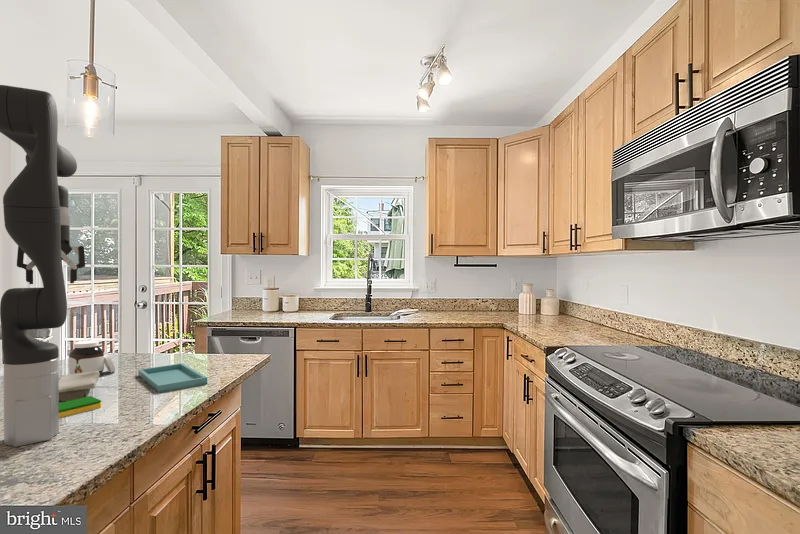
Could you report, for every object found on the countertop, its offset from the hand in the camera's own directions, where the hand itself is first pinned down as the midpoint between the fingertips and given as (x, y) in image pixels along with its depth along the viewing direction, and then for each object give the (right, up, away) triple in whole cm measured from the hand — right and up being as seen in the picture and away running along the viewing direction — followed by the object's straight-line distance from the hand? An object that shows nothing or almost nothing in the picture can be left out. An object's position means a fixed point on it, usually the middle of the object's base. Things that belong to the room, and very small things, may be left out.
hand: (52, 283), depth 115 cm
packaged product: (+4, -31, +12) cm, 33 cm away
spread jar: (-12, -33, +32) cm, 47 cm away
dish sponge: (+8, -34, -5) cm, 35 cm away
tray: (+19, -33, +26) cm, 46 cm away
